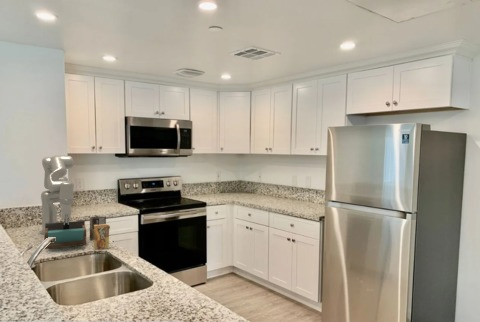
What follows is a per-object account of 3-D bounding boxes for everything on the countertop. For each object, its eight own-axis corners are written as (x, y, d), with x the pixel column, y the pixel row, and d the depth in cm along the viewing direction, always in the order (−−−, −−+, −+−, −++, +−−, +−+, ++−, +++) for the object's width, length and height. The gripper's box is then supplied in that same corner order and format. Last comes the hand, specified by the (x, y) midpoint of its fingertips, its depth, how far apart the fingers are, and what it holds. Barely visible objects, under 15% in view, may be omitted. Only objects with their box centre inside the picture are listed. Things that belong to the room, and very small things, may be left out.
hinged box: (45, 242, 226) (45, 223, 226) (84, 238, 238) (84, 220, 237) (44, 248, 212) (44, 228, 212) (86, 244, 224) (86, 225, 223)
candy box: (108, 246, 220) (108, 223, 219) (108, 248, 216) (109, 225, 216) (93, 248, 216) (93, 224, 216) (93, 250, 212) (94, 226, 212)
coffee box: (106, 239, 236) (106, 217, 236) (98, 242, 231) (99, 218, 230) (96, 238, 240) (96, 215, 240) (89, 240, 234) (89, 217, 234)
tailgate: (48, 241, 214) (47, 230, 204) (82, 238, 223) (84, 228, 214) (48, 243, 213) (47, 233, 203) (82, 240, 223) (84, 230, 213)
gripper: (59, 200, 215) (59, 228, 216) (59, 204, 202) (59, 234, 203) (72, 199, 219) (72, 227, 220) (73, 203, 206) (73, 233, 206)
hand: (66, 230), depth 211 cm, fingers closed
